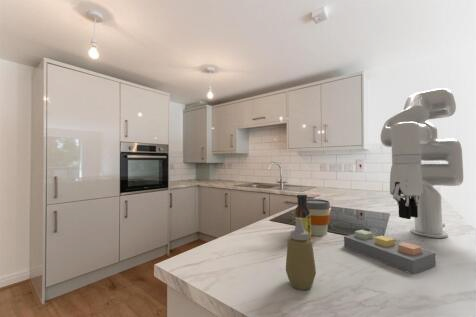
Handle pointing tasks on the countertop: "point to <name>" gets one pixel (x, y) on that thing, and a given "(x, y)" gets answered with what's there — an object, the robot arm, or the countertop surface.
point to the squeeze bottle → (300, 258)
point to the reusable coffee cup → (319, 216)
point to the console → (391, 254)
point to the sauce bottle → (303, 213)
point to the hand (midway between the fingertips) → (408, 216)
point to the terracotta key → (409, 249)
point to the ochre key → (384, 241)
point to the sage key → (363, 234)
